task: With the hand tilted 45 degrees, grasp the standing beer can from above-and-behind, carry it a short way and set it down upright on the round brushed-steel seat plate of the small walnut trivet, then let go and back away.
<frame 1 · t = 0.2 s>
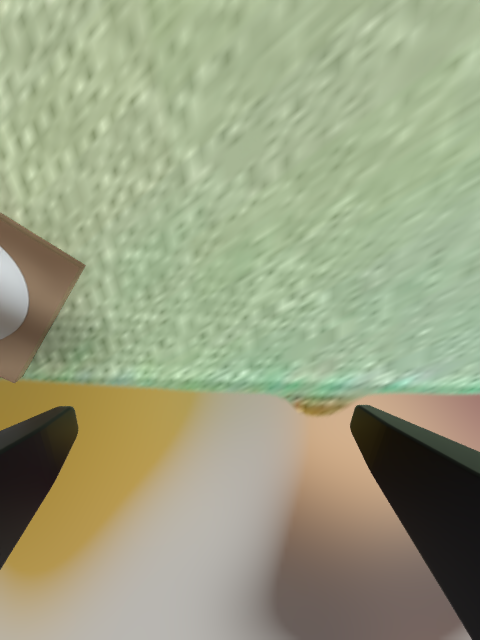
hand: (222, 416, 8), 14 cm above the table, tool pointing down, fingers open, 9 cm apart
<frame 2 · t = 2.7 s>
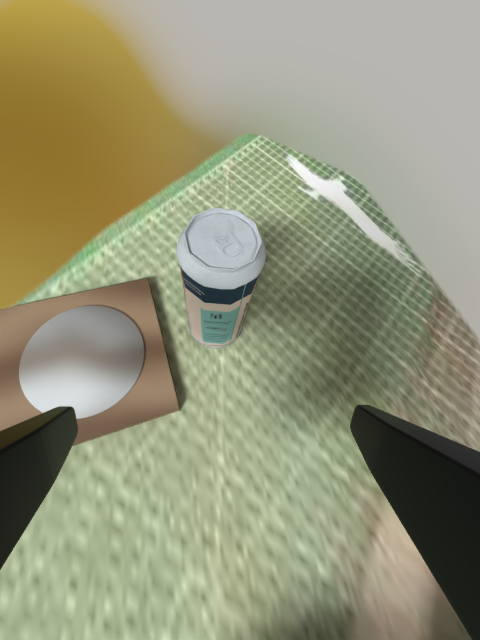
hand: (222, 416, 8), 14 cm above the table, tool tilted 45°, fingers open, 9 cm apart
trivet: (90, 361, 22), on the table
beer can: (215, 325, 24), on the table
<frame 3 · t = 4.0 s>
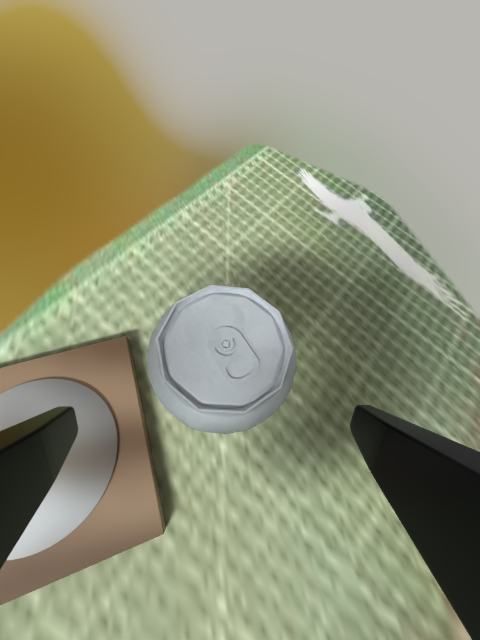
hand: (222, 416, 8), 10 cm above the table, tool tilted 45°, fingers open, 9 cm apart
trivet: (44, 456, 16), on the table
beer can: (214, 396, 19), on the table
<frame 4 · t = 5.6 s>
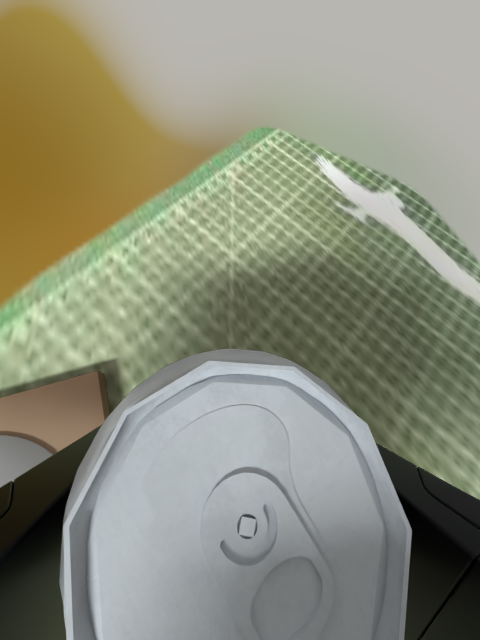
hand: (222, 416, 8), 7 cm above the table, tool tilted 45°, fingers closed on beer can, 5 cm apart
beer can: (215, 450, 14), on the table, touching gripper
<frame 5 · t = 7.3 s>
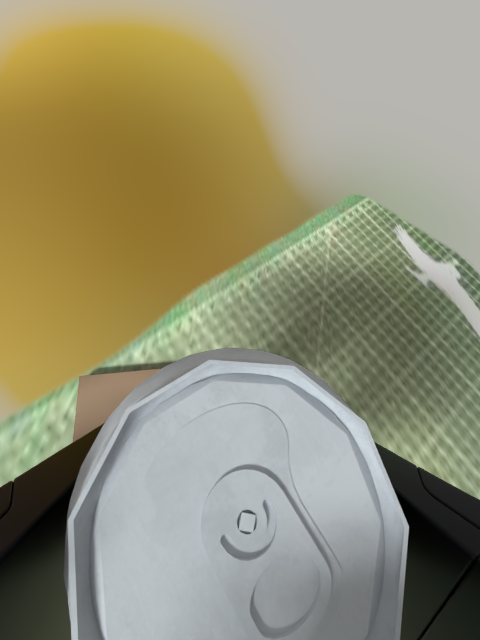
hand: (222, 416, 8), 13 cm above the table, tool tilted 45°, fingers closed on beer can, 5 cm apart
trivet: (164, 451, 19), on the table
beer can: (216, 449, 14), point 6 cm above the table, touching gripper
when the fingers open (9 cm above the table, at t = 8.9 s): beer can drops 1 cm, resting on trivet.
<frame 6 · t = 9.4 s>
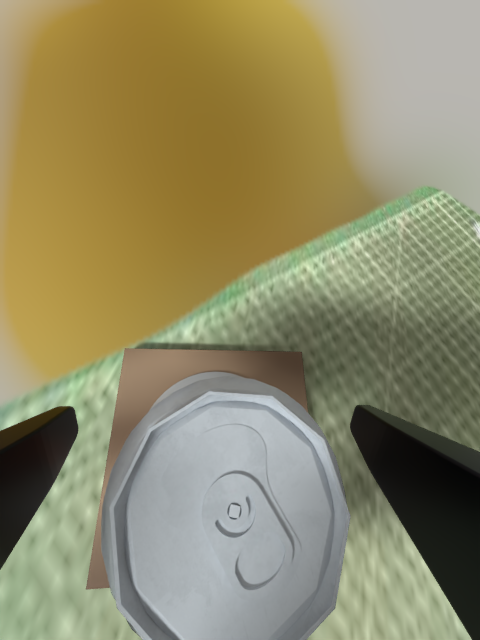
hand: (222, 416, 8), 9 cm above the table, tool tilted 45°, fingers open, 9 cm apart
trivet: (214, 446, 16), on the table
beer can: (214, 451, 15), point 1 cm above the table, touching trivet
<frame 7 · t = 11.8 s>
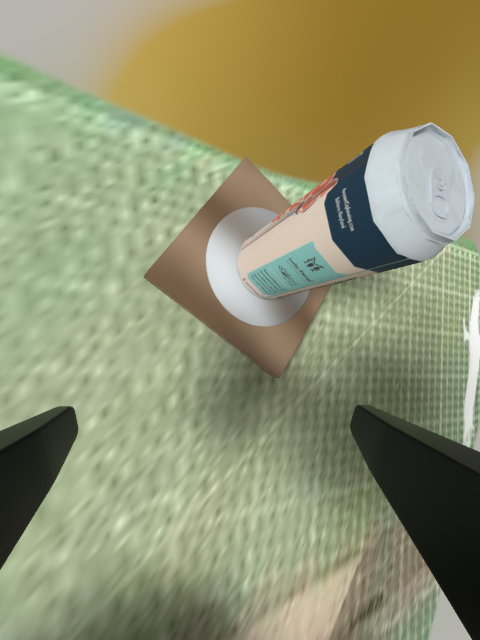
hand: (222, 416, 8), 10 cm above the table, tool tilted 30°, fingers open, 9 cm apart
trivet: (256, 270, 21), on the table
beer can: (261, 269, 20), point 1 cm above the table, touching trivet
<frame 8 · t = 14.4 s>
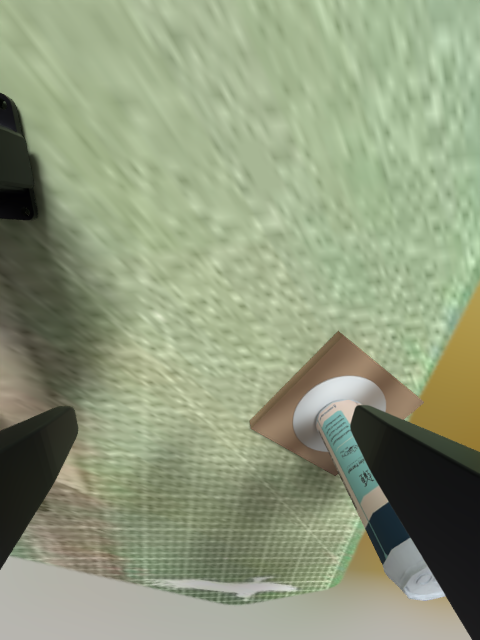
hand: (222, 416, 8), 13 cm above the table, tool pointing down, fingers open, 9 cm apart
trivet: (334, 408, 26), on the table
beer can: (337, 414, 25), point 1 cm above the table, touching trivet
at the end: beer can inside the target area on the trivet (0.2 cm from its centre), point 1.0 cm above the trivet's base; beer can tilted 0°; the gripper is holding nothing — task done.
